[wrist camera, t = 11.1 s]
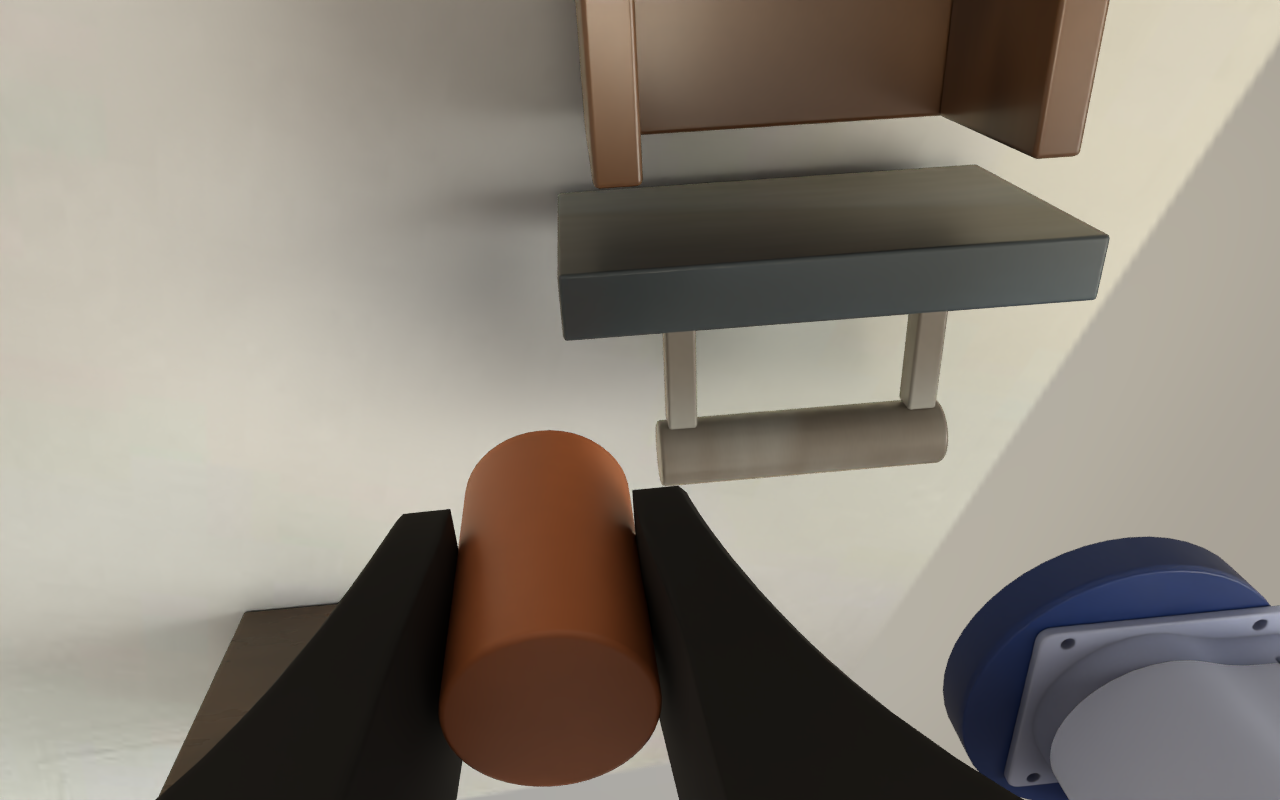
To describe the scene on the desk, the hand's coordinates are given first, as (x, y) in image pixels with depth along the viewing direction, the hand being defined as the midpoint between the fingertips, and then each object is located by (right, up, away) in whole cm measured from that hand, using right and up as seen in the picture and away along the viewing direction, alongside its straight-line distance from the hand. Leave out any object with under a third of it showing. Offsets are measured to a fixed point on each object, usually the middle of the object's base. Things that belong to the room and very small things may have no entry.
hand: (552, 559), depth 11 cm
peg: (0, +1, +1) cm, 1 cm away
